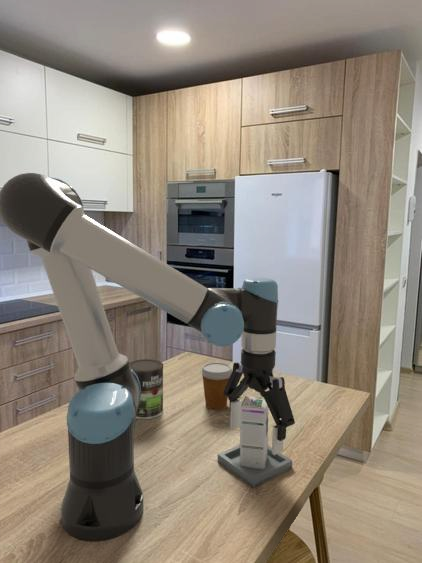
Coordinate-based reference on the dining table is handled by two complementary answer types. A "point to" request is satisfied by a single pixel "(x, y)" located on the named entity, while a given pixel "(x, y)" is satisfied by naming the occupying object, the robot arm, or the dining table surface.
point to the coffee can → (149, 387)
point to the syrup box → (254, 433)
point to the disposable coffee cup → (215, 384)
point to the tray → (252, 475)
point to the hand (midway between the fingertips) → (255, 439)
